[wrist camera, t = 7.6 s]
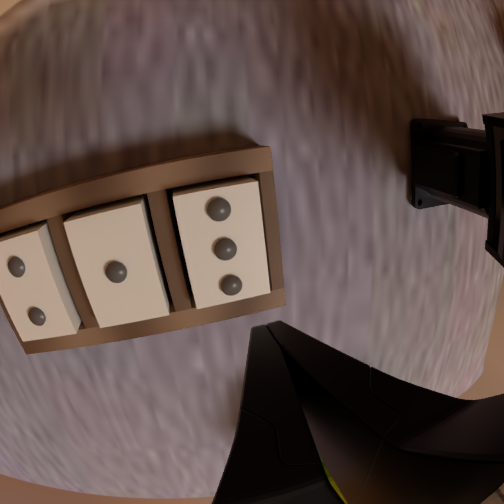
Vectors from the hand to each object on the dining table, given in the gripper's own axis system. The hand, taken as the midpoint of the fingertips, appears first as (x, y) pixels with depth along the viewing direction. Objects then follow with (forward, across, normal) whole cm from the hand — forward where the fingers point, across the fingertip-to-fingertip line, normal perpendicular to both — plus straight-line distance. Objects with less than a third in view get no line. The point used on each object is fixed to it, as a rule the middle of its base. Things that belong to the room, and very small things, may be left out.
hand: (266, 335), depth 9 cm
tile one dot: (+9, +5, 0) cm, 11 cm away
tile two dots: (+9, +11, 0) cm, 14 cm away
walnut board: (+10, +5, 0) cm, 11 cm away
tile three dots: (+9, 0, 0) cm, 9 cm away
